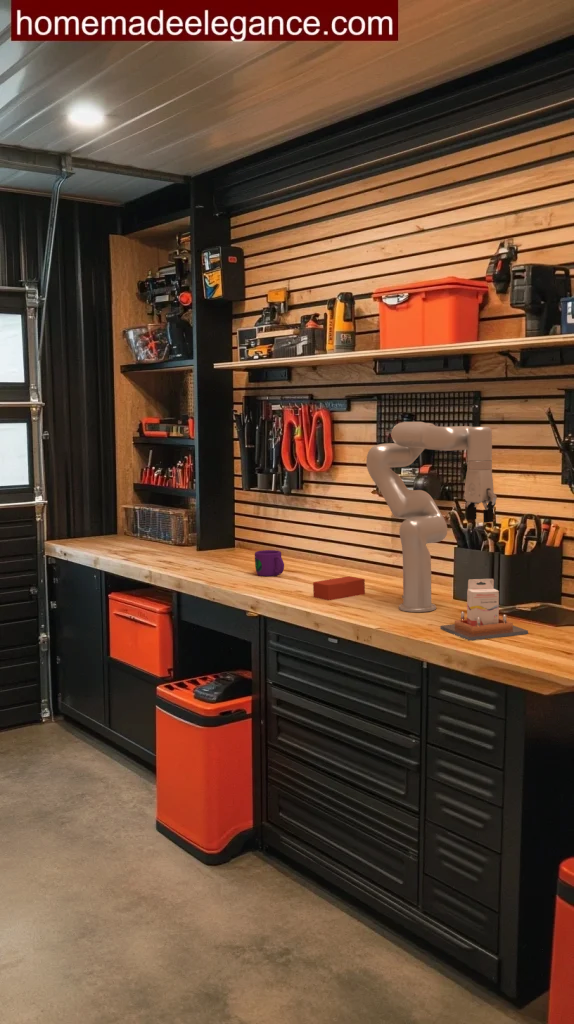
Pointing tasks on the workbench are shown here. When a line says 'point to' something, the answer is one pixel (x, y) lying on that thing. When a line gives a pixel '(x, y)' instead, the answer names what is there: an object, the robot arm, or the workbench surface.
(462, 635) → the cartridge tray
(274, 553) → the mug
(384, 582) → the workbench surface
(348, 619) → the workbench surface
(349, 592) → the brick
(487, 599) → the ink cartridge box
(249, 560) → the workbench surface
